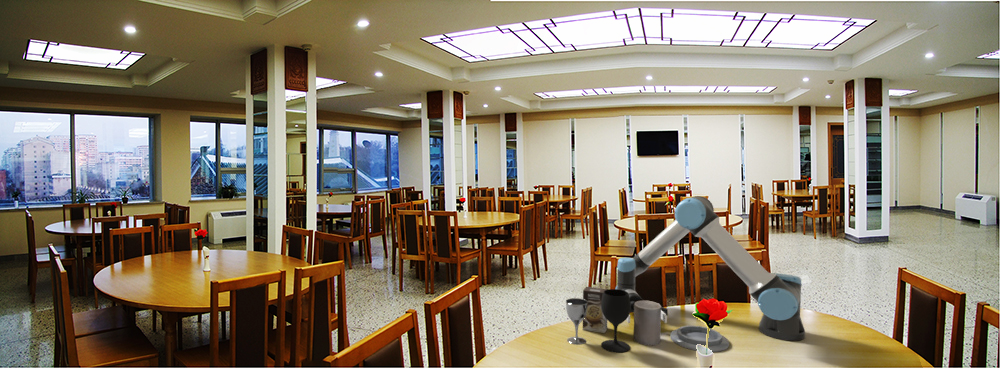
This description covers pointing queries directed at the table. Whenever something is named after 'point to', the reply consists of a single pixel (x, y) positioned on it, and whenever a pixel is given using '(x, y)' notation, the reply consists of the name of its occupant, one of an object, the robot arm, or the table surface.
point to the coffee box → (594, 310)
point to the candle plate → (699, 338)
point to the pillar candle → (647, 322)
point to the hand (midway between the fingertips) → (647, 319)
